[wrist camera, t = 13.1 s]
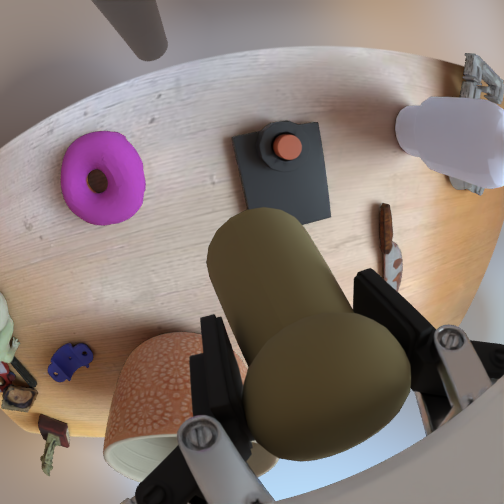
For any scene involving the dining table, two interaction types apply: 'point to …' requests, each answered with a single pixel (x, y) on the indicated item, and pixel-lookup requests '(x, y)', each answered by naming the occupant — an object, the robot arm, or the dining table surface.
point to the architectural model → (495, 91)
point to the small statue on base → (52, 439)
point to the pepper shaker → (302, 341)
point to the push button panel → (284, 172)
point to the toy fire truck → (5, 375)
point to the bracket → (69, 361)
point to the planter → (158, 406)
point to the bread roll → (18, 398)
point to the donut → (116, 171)
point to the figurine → (6, 333)
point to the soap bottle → (456, 138)
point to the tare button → (287, 147)
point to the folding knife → (23, 372)
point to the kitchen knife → (390, 249)
